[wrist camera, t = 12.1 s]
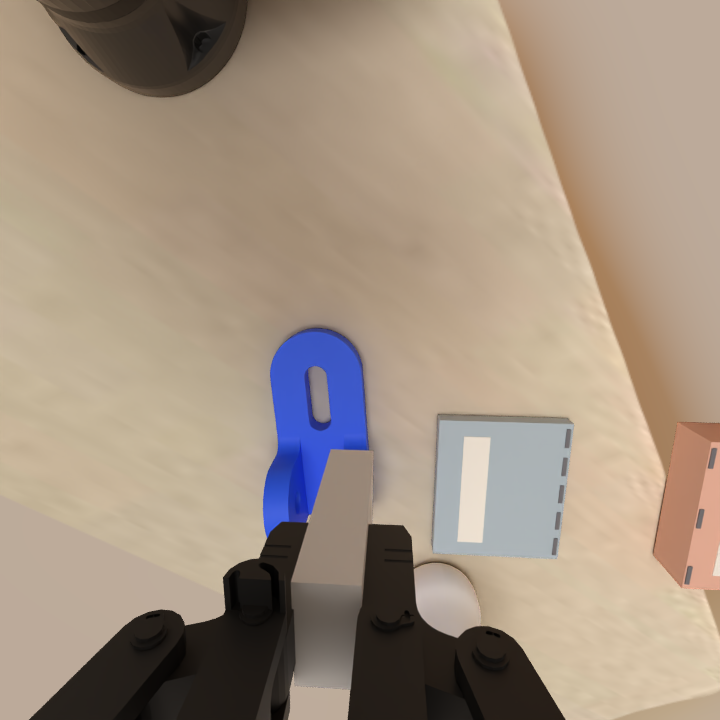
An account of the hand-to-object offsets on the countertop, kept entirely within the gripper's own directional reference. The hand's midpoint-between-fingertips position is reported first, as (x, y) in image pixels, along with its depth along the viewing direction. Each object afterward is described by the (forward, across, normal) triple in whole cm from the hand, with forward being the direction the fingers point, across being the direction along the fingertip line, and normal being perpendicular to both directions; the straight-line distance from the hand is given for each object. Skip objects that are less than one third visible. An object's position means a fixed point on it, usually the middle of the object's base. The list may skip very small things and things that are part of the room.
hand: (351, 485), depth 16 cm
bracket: (+27, -5, -8) cm, 28 cm away
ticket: (+26, +12, -14) cm, 32 cm away
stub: (+26, +30, -14) cm, 42 cm away
